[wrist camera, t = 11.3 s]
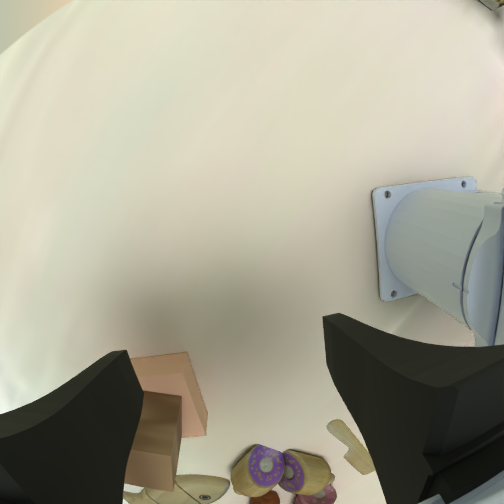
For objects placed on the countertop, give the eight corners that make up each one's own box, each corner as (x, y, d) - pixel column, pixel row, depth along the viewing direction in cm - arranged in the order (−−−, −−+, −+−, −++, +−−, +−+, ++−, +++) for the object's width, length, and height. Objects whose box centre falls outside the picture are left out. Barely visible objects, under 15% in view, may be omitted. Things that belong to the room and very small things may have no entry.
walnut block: (181, 396, 19) (170, 456, 14) (181, 435, 20) (173, 492, 15) (124, 387, 19) (100, 442, 14) (129, 426, 20) (111, 480, 15)
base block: (187, 349, 22) (182, 372, 19) (207, 410, 23) (206, 435, 20) (113, 358, 22) (101, 380, 19) (139, 416, 23) (132, 439, 20)
